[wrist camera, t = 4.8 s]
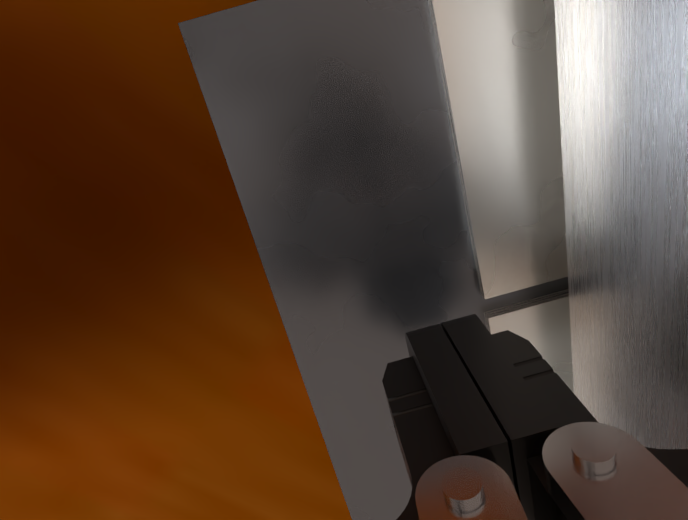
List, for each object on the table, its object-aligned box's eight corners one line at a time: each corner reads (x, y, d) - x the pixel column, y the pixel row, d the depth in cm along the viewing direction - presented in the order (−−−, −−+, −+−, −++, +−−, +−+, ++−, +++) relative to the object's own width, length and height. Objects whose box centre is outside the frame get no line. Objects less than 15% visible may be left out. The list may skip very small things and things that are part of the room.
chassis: (203, 28, 12) (-13, -21, 4) (791, -139, 12) (2063, -616, 3) (381, 558, 19) (454, 980, 10) (757, 457, 19) (1149, 801, 10)
